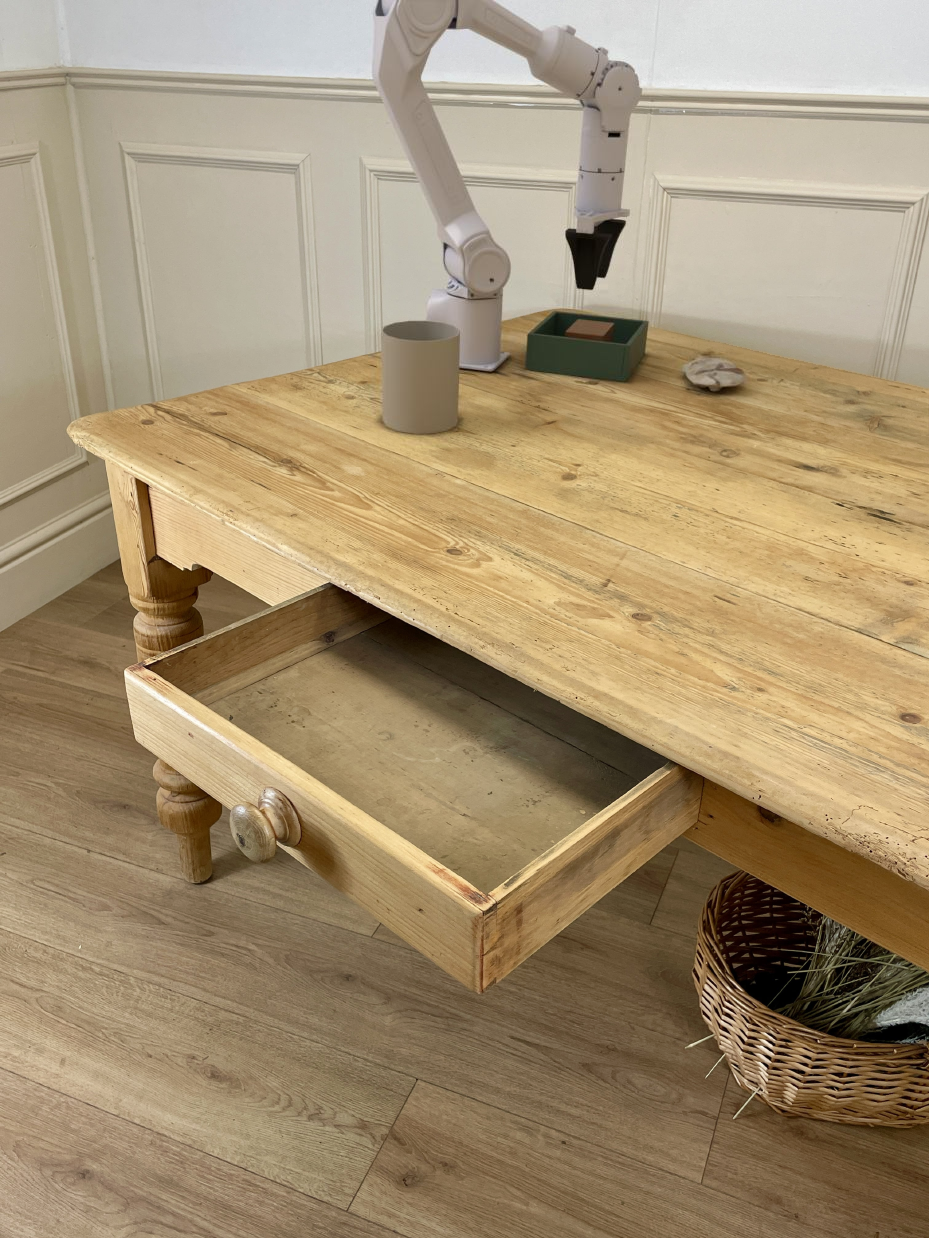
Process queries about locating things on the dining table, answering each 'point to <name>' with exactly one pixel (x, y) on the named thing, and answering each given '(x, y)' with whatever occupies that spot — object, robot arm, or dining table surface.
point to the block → (591, 330)
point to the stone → (713, 373)
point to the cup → (420, 376)
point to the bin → (586, 348)
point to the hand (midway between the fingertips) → (591, 283)
